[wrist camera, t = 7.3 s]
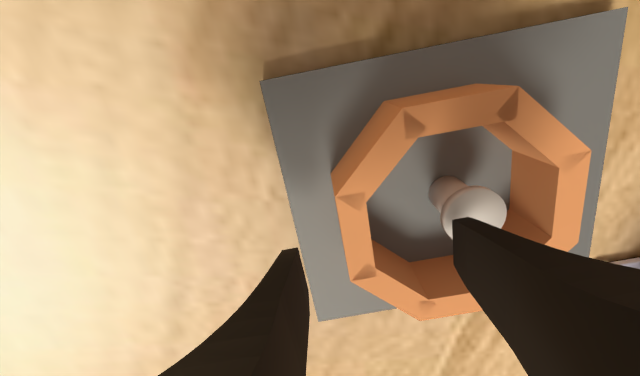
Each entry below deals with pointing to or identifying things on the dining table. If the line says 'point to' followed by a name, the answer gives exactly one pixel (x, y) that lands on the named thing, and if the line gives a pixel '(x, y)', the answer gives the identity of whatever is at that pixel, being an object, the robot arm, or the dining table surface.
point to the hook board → (434, 142)
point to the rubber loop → (525, 189)
